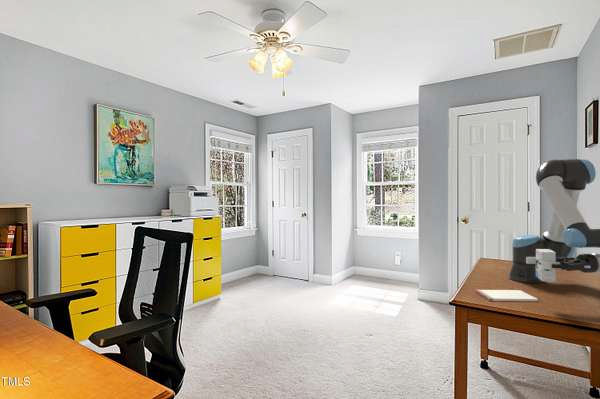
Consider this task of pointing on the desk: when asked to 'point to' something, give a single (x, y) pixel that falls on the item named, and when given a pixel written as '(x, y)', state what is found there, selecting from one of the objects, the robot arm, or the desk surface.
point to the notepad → (506, 295)
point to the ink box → (545, 256)
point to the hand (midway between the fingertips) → (534, 262)
